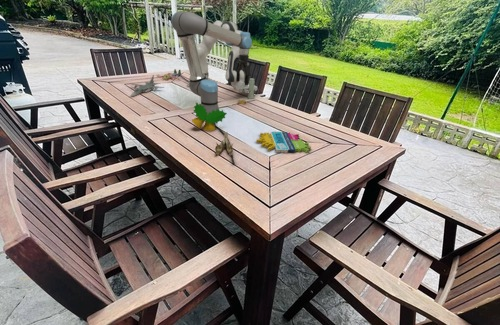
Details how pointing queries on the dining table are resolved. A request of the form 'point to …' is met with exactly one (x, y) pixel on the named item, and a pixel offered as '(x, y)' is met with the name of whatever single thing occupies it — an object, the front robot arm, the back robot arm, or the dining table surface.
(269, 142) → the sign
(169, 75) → the toy
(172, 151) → the dining table surface
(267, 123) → the dining table surface
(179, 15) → the front robot arm
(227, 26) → the back robot arm
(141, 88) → the airplane
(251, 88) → the jar
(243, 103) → the lid
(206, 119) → the ornament
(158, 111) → the dining table surface
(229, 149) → the jawbone
